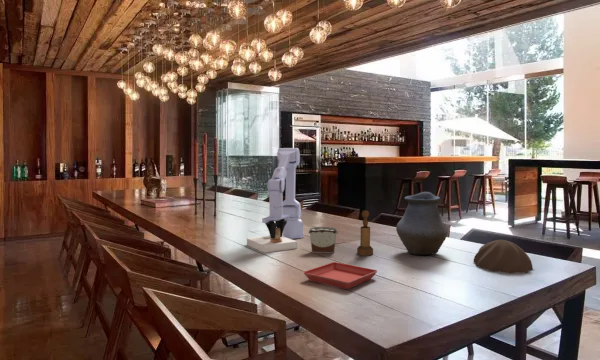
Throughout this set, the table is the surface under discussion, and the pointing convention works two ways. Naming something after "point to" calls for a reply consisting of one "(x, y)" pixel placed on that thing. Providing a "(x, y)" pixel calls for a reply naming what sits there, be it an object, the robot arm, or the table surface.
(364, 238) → the brown wooden tall figure
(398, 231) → the grey ceramic jar
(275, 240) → the oak peg
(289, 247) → the hole board
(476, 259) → the decorative dome
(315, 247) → the food container
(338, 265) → the plant saucer
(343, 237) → the table surface
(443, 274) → the table surface
